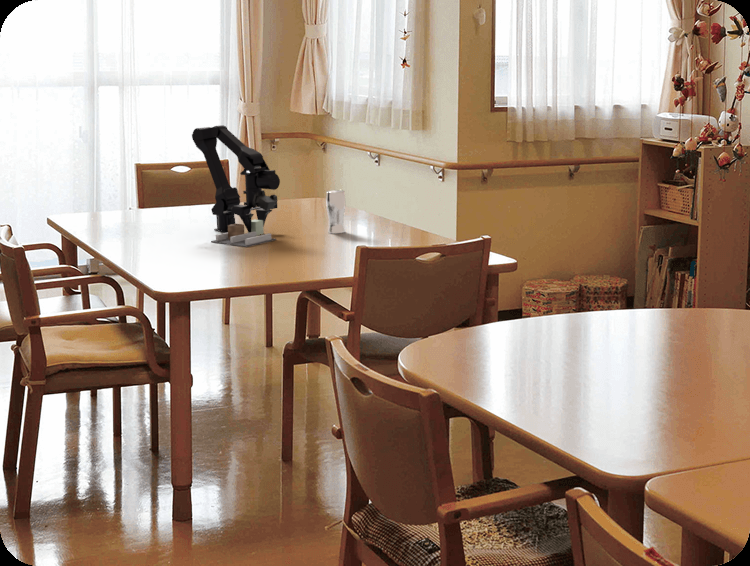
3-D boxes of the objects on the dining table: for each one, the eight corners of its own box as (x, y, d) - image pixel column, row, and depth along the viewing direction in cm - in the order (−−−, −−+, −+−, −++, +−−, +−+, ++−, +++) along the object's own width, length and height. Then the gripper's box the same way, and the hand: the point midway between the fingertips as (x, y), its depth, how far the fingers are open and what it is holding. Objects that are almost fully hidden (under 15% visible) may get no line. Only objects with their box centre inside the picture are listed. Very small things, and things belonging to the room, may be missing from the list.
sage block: (248, 234, 344) (247, 221, 343) (255, 232, 347) (254, 219, 346) (256, 235, 342) (255, 222, 341) (263, 233, 345) (263, 220, 344)
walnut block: (228, 239, 334) (227, 225, 332) (236, 237, 337) (235, 223, 336) (236, 240, 331) (235, 226, 330) (244, 238, 334) (244, 224, 333)
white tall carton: (343, 234, 342) (342, 192, 338) (324, 233, 343) (323, 192, 339) (348, 230, 348) (347, 189, 345) (329, 230, 350) (328, 189, 346)
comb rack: (210, 242, 331) (210, 235, 331) (241, 235, 343) (240, 228, 342) (246, 247, 321) (246, 240, 321) (276, 239, 333) (276, 233, 333)
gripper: (252, 192, 329) (254, 237, 332) (287, 186, 343) (289, 228, 347) (228, 190, 335) (231, 234, 339) (265, 184, 350) (266, 226, 353)
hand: (255, 230), depth 344 cm, fingers open, 6 cm apart
